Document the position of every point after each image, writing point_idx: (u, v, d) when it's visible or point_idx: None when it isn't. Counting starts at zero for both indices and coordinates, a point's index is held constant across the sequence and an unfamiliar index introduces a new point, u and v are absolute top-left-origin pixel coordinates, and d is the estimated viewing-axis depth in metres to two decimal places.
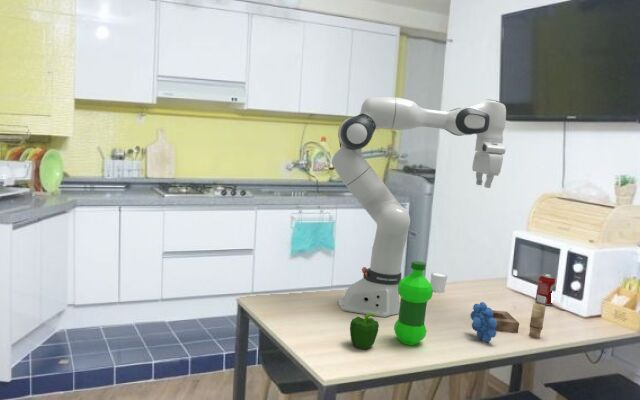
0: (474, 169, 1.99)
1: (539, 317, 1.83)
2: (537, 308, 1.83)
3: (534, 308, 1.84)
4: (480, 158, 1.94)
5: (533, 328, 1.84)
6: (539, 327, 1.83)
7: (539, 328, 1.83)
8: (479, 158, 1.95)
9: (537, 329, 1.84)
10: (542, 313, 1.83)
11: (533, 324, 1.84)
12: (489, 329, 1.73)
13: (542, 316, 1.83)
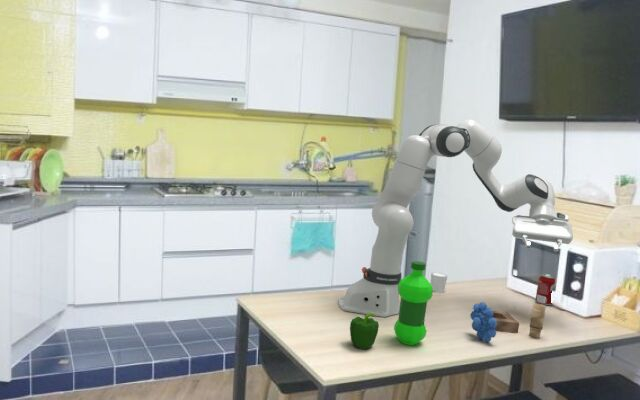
0: (523, 231, 1.98)
1: (539, 317, 1.83)
2: (537, 308, 1.83)
3: (534, 308, 1.84)
4: (536, 224, 1.99)
5: (533, 328, 1.84)
6: (539, 327, 1.83)
7: (539, 328, 1.83)
8: (533, 223, 1.99)
9: (537, 329, 1.84)
10: (542, 313, 1.83)
11: (533, 324, 1.84)
12: (489, 329, 1.73)
13: (542, 316, 1.83)
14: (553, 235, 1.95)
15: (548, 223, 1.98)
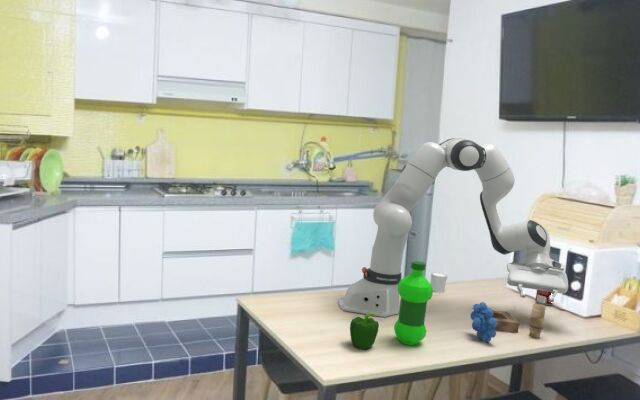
0: (518, 280, 1.94)
1: (539, 317, 1.83)
2: (537, 308, 1.83)
3: (534, 308, 1.84)
4: (531, 272, 1.96)
5: (533, 328, 1.84)
6: (539, 327, 1.83)
7: (539, 328, 1.83)
8: (528, 272, 1.96)
9: (537, 329, 1.84)
10: (542, 313, 1.83)
11: (533, 324, 1.84)
12: (489, 329, 1.73)
13: (542, 316, 1.83)
14: (548, 285, 1.92)
15: (543, 272, 1.95)
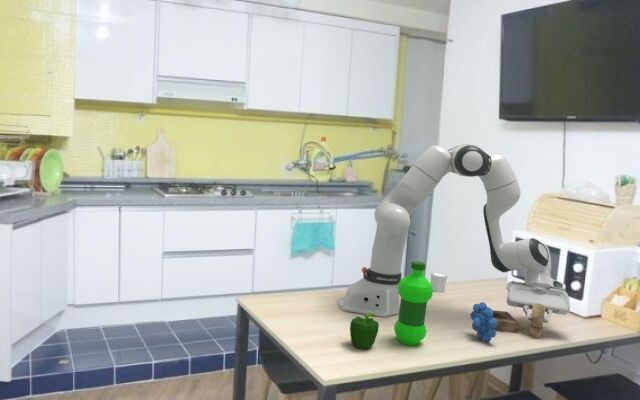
0: (518, 300, 1.88)
1: (539, 317, 1.83)
2: (537, 308, 1.83)
3: (534, 308, 1.84)
4: (531, 292, 1.90)
5: (533, 328, 1.84)
6: (539, 327, 1.83)
7: (539, 328, 1.83)
8: (528, 292, 1.90)
9: (537, 329, 1.84)
10: (542, 313, 1.83)
11: (533, 324, 1.84)
12: (489, 329, 1.73)
13: (542, 316, 1.83)
14: (549, 306, 1.85)
15: (544, 292, 1.89)
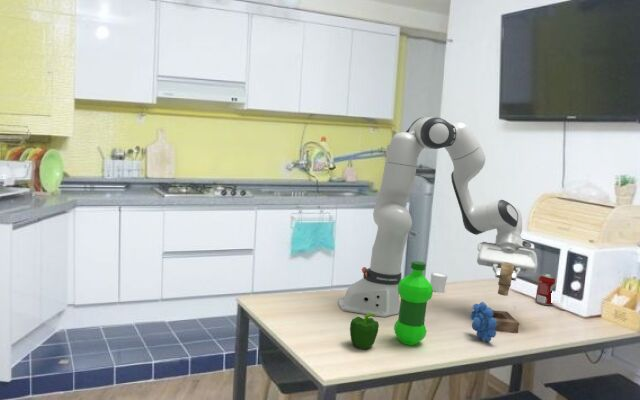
0: (487, 259, 1.93)
1: (507, 275, 1.88)
2: (505, 266, 1.88)
3: (502, 266, 1.89)
4: (501, 251, 1.95)
5: (501, 285, 1.89)
6: (507, 284, 1.89)
7: (507, 285, 1.89)
8: (498, 251, 1.95)
9: (505, 287, 1.89)
10: (510, 271, 1.88)
11: (501, 281, 1.89)
12: (489, 329, 1.73)
13: (510, 274, 1.88)
14: (518, 264, 1.91)
15: (513, 251, 1.94)
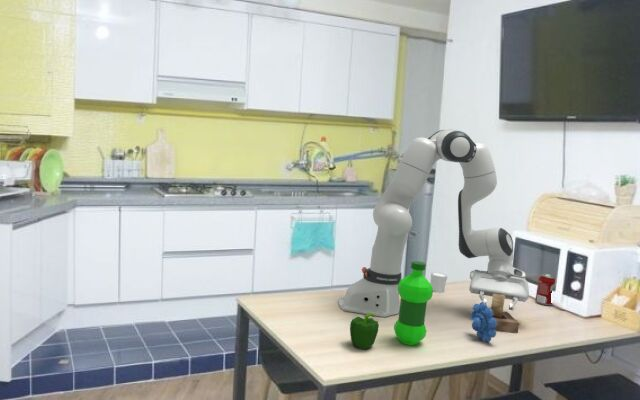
0: (479, 288, 1.95)
1: (498, 306, 1.91)
2: (496, 298, 1.91)
3: (494, 298, 1.92)
4: (493, 280, 1.97)
5: (493, 317, 1.92)
6: (498, 316, 1.91)
7: (498, 317, 1.91)
8: (490, 279, 1.97)
9: None
10: (501, 302, 1.91)
11: (493, 313, 1.92)
12: (489, 329, 1.73)
13: (501, 305, 1.91)
14: (509, 293, 1.93)
15: (505, 280, 1.96)
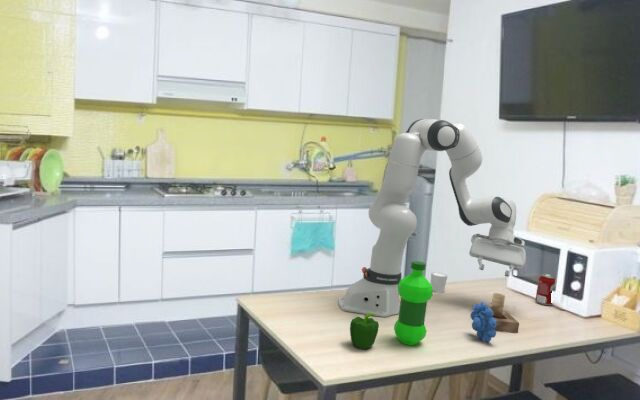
0: (479, 253, 2.05)
1: (498, 306, 1.91)
2: (496, 298, 1.91)
3: (494, 298, 1.92)
4: (492, 246, 2.06)
5: (493, 317, 1.92)
6: (498, 316, 1.91)
7: (498, 317, 1.91)
8: (490, 245, 2.06)
9: None
10: (501, 302, 1.91)
11: (493, 313, 1.92)
12: (489, 329, 1.73)
13: (501, 305, 1.91)
14: (507, 260, 2.03)
15: (504, 247, 2.05)
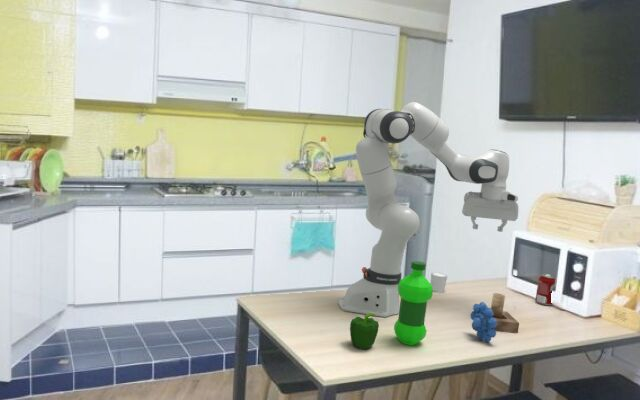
0: (473, 215, 2.03)
1: (498, 306, 1.91)
2: (496, 298, 1.91)
3: (494, 298, 1.92)
4: (486, 204, 2.03)
5: (493, 317, 1.92)
6: (498, 316, 1.91)
7: (498, 317, 1.91)
8: (483, 204, 2.03)
9: None
10: (501, 302, 1.91)
11: (493, 313, 1.92)
12: (489, 329, 1.73)
13: (501, 305, 1.91)
14: (500, 218, 2.03)
15: (497, 204, 2.02)
